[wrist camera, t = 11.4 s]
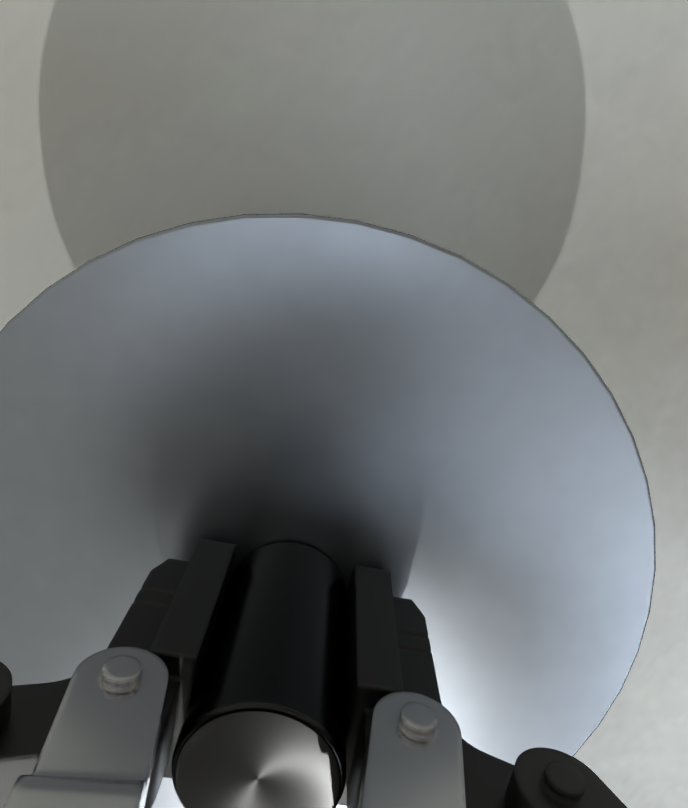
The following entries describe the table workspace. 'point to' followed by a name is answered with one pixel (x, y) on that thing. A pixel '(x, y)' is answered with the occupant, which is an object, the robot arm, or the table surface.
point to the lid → (319, 489)
